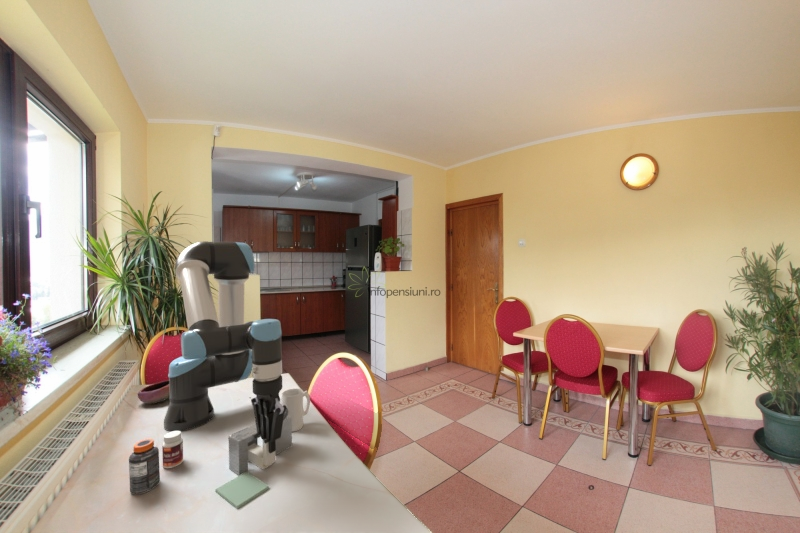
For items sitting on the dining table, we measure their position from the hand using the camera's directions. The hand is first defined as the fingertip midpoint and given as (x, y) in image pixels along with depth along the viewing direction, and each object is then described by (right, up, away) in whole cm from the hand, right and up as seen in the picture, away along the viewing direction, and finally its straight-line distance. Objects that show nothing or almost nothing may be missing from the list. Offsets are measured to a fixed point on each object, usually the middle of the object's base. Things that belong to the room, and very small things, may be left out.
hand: (269, 462), depth 88 cm
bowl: (-64, -2, +46) cm, 79 cm away
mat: (-3, -2, -9) cm, 9 cm away
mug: (0, -1, +23) cm, 23 cm away
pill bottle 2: (-28, -2, +3) cm, 28 cm away
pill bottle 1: (-29, -2, -7) cm, 30 cm away
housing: (-4, -1, +5) cm, 7 cm away
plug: (-7, -1, +5) cm, 8 cm away
